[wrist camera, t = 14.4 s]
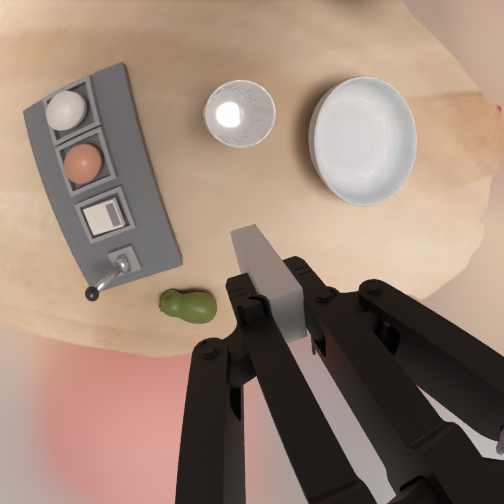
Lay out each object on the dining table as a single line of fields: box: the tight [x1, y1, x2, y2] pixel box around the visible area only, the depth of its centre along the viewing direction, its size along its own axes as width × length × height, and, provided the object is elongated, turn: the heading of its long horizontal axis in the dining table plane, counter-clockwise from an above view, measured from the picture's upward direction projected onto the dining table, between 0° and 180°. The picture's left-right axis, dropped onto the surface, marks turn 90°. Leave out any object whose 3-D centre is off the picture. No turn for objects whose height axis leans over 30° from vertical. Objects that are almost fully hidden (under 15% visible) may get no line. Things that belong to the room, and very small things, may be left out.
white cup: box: [202, 80, 276, 148], centre depth 32 cm, size 8×8×10 cm
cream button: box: [46, 91, 87, 131], centre depth 25 cm, size 5×5×3 cm
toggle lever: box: [85, 255, 131, 301], centre depth 34 cm, size 2×2×8 cm
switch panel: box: [23, 62, 183, 291], centre depth 33 cm, size 16×31×5 cm, turn 12°
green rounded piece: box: [159, 289, 217, 324], centre depth 46 cm, size 6×5×10 cm
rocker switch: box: [83, 197, 125, 235], centre depth 34 cm, size 5×4×1 cm
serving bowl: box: [308, 76, 417, 207], centre depth 39 cm, size 21×21×7 cm
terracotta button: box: [64, 143, 104, 184], centre depth 29 cm, size 5×5×3 cm
